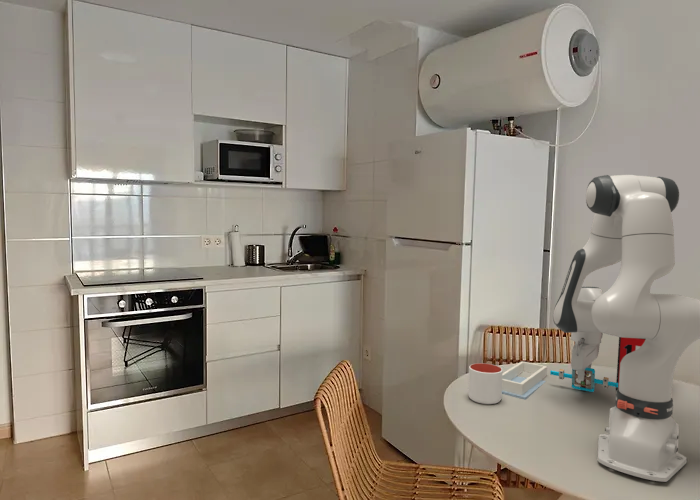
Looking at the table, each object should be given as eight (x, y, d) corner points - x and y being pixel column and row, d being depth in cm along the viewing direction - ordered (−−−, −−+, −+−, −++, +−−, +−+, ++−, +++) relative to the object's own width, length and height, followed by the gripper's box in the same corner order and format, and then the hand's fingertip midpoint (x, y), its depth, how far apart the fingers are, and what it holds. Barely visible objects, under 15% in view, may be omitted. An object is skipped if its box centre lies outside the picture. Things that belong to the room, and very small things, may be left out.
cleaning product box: (647, 400, 154) (651, 338, 153) (615, 393, 160) (619, 333, 159) (656, 387, 167) (660, 329, 165) (626, 381, 173) (630, 325, 171)
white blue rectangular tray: (525, 400, 152) (526, 386, 152) (488, 391, 160) (488, 377, 159) (551, 379, 173) (552, 366, 173) (518, 371, 181) (518, 359, 180)
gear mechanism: (549, 388, 164) (550, 362, 162) (553, 381, 168) (553, 356, 167) (617, 402, 153) (618, 374, 151) (619, 394, 157) (620, 367, 155)
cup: (467, 403, 149) (469, 371, 148) (467, 392, 158) (469, 361, 158) (502, 407, 146) (503, 374, 146) (500, 395, 156) (501, 364, 155)
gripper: (588, 343, 148) (586, 388, 149) (603, 332, 164) (601, 372, 165) (566, 340, 152) (564, 383, 153) (583, 329, 168) (581, 368, 169)
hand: (583, 377), depth 159 cm, fingers closed on gear mechanism, 5 cm apart
